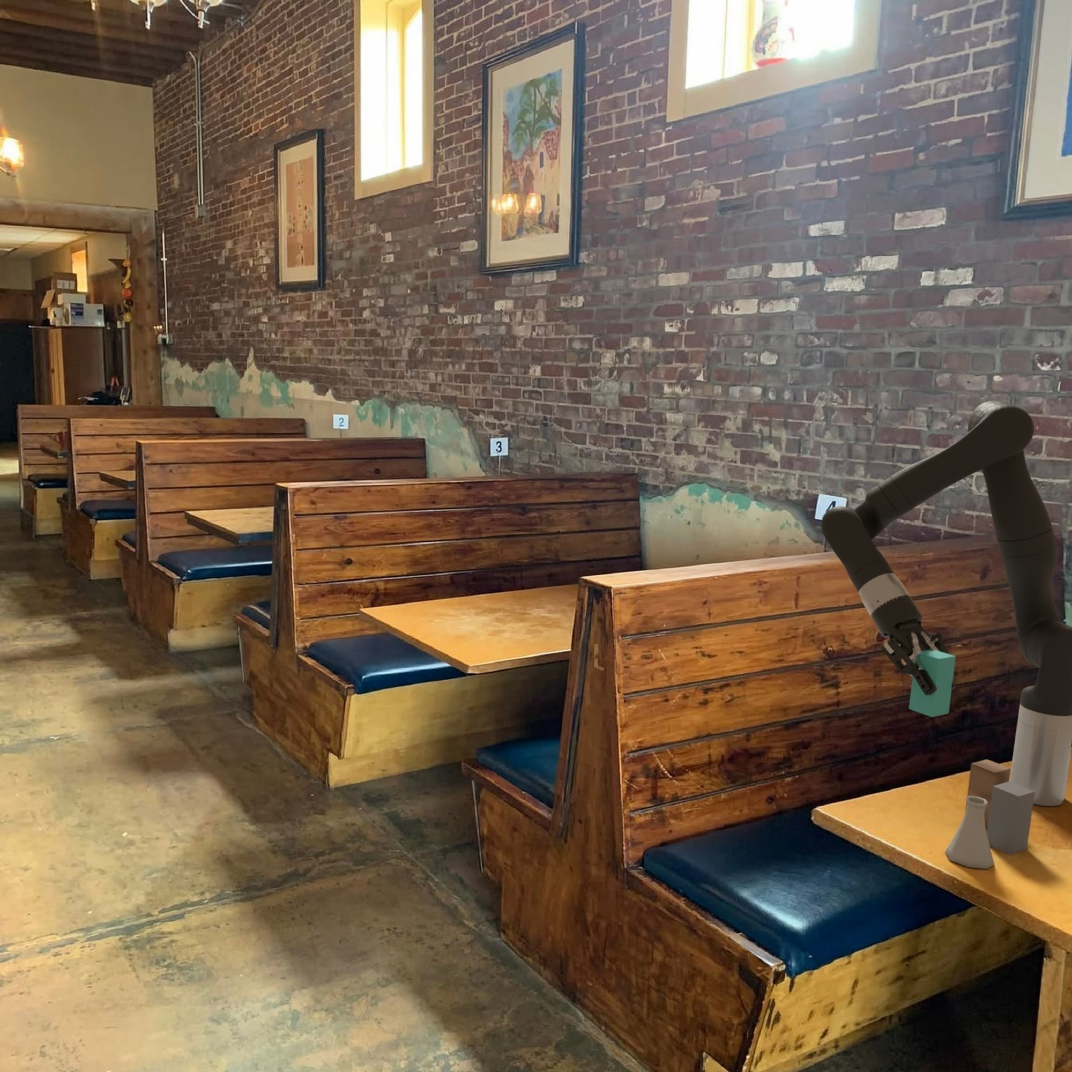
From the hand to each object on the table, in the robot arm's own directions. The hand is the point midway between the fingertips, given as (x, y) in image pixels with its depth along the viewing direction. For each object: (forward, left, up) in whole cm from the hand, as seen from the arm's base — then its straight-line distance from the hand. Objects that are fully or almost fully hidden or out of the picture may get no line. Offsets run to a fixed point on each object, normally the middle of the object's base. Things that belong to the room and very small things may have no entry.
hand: (941, 690), depth 166 cm
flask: (+4, +11, -24) cm, 27 cm away
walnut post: (-12, +3, -24) cm, 27 cm away
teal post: (0, -2, -4) cm, 5 cm away
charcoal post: (-6, +11, -24) cm, 27 cm away
